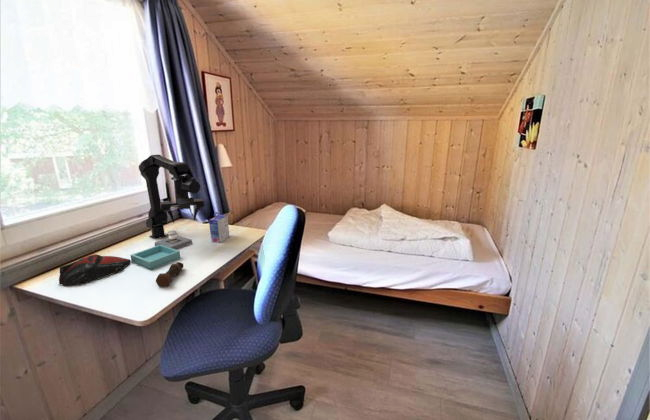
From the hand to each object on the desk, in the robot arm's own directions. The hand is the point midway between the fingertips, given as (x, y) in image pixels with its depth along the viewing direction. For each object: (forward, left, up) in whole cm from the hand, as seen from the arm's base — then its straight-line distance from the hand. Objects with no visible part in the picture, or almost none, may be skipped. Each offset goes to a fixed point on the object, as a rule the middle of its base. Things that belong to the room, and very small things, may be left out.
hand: (184, 221), depth 151 cm
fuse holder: (-7, -2, -13) cm, 15 cm away
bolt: (+22, -23, -14) cm, 35 cm away
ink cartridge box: (+6, +16, -13) cm, 22 cm away
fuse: (-7, -2, -13) cm, 15 cm away
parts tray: (+2, -17, -13) cm, 22 cm away
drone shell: (-7, -37, -14) cm, 40 cm away
